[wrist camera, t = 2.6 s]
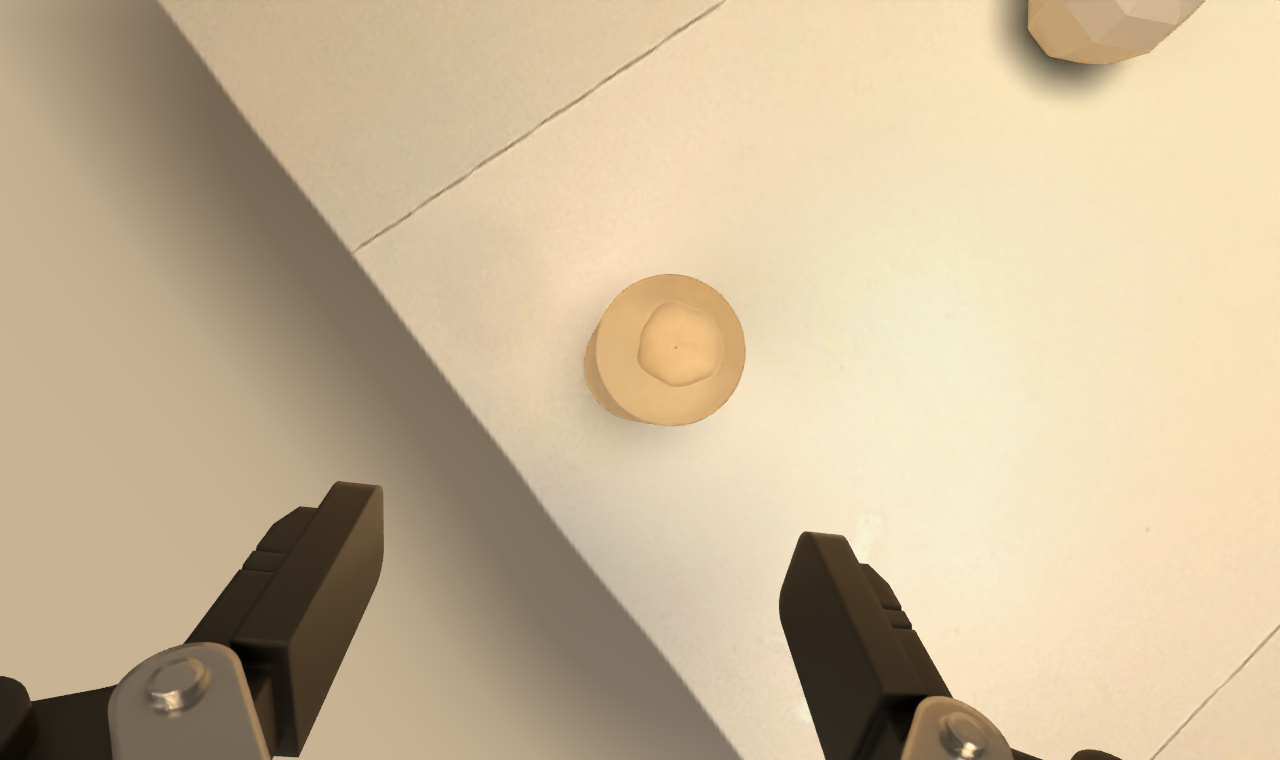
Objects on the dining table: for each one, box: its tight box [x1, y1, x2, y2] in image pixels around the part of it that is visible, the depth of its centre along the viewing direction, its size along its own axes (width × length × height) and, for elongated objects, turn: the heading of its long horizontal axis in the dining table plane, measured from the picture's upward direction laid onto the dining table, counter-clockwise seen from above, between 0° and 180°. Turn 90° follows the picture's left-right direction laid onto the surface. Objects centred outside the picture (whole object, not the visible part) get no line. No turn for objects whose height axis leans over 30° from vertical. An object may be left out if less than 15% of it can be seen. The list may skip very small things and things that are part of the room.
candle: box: [584, 274, 745, 426], centre depth 26 cm, size 6×6×10 cm
